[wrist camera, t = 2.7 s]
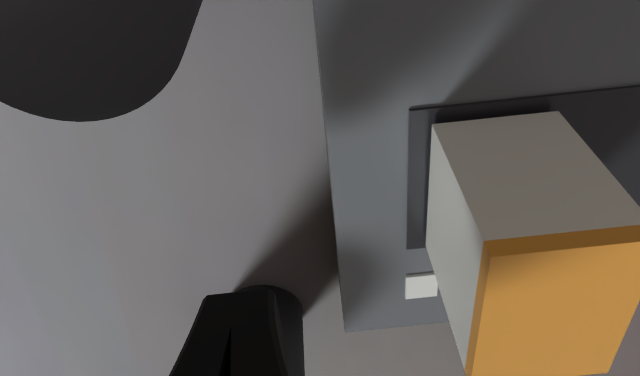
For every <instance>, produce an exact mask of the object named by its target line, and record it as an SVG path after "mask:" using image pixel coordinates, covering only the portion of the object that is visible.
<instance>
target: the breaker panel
mask: <svg viewBox="0 0 640 376" xmlns="http://www.w3.org/2000/svg"><path fill="white" fill-rule="evenodd" d="M313 10H314V21H315V31H316V42H317V52H318V63H319V73H320V84H321V94H322V105H323V115H324V126H325V137H326V147H327V158H328V168H329V179H330V189H331V200H332V210H333V221H334V231H335V242H336V253H337V263H338V274H339V284H340V293H341V302H342V311H343V319H344V328H345V332H354V331H363V330H373V329H383V328H392V327H402V326H412V325H422V324H431V323H441V322H449V319H448V315H447V312H446V309H445V306H444V303H443V299H442V296H441V293H440V290H439V287H438V283H437V280H436V277H435V274H434V271H433V267H432V264H431V261H430V258H429V255H428V251H427V248H426V229H427V210H428V190H429V171H430V152H431V133H432V124H439V123H448V122H458V121H467V120H477V119H486V118H496V117H505V116H515V115H524V114H534V113H543V112H553V111H559V112H560V113H561V115H562V116H563V117H564V118H565V119H566V121H567V122H568V123H569V124H570V125H571V126H572V128H573V129H574V130H575V131H576V132H577V134H578V135H579V136H580V137H581V138H582V139H583V141H584V142H585V143H586V144H587V145H588V146H589V148H590V149H591V150H592V151H593V152H594V154H595V155H596V156H597V157H598V158H599V159H600V161H601V162H602V163H603V164H604V165H605V167H606V168H607V169H608V170H609V171H610V172H611V174H612V175H613V176H614V177H615V178H616V180H617V181H618V182H619V183H620V184H621V185H622V187H623V188H624V189H625V190H626V191H627V193H628V194H629V195H630V196H631V197H632V198H633V200H634V201H635V202H636V203H637V204H638V206H639V207H640V0H313ZM639 302H640V301H639Z"/></svg>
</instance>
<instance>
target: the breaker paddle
mask: <svg viewBox="0 0 640 376" xmlns="http://www.w3.org/2000/svg"><path fill="white" fill-rule="evenodd" d="M426 248H427V251H428V255H429V258H430V261H431V264H432V267H433V271H434V274H435V277H436V280H437V283H438V287H439V290H440V293H441V296H442V299H443V303H444V306H445V309H446V312H447V315H448V319H449V322H450V325H451V328H452V331H453V335H454V338H455V341H456V344H457V347H458V351H459V354H460V357H461V360H462V363H463V367H464V370H465V373H466V376H580V375H589V374H599V373H608V371H609V368H610V366H611V364H612V362H613V359H614V357H615V355H616V353H617V350H618V348H619V346H620V344H621V341H622V339H623V337H624V334H625V332H626V330H627V328H628V325H629V323H630V321H631V319H632V316H633V314H634V312H635V310H636V307H637V305H638V303H639V301H640V207H639V206H638V204H637V203H636V202H635V201H634V200H633V198H632V197H631V196H630V195H629V194H628V193H627V191H626V190H625V189H624V188H623V187H622V185H621V184H620V183H619V182H618V181H617V180H616V178H615V177H614V176H613V175H612V174H611V172H610V171H609V170H608V169H607V168H606V167H605V165H604V164H603V163H602V162H601V161H600V159H599V158H598V157H597V156H596V155H595V154H594V152H593V151H592V150H591V149H590V148H589V146H588V145H587V144H586V143H585V142H584V141H583V139H582V138H581V137H580V136H579V135H578V134H577V132H576V131H575V130H574V129H573V128H572V126H571V125H570V124H569V123H568V122H567V121H566V119H565V118H564V117H563V116H562V115H561V113H560V112H559V111H553V112H543V113H534V114H524V115H515V116H505V117H496V118H486V119H477V120H467V121H458V122H448V123H439V124H432V133H431V152H430V171H429V190H428V210H427V229H426Z"/></svg>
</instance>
